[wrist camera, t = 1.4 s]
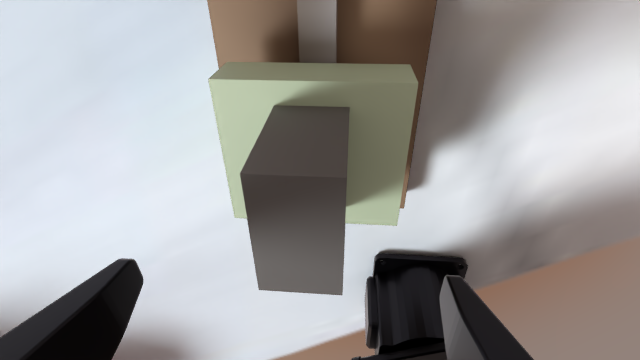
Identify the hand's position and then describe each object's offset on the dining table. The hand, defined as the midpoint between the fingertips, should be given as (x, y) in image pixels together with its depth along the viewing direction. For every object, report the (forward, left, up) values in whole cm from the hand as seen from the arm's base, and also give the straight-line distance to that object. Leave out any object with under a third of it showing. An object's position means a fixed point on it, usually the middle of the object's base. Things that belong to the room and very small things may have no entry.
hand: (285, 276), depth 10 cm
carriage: (0, 0, -9) cm, 9 cm away
